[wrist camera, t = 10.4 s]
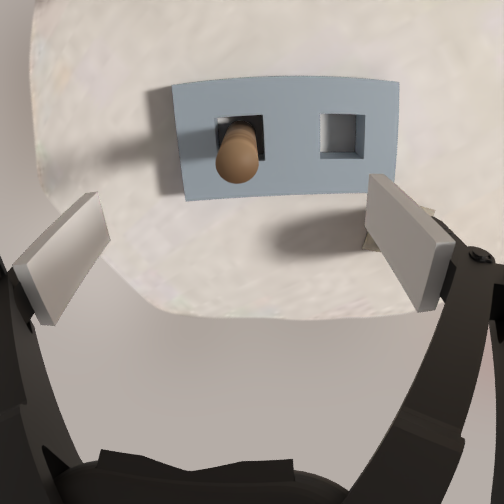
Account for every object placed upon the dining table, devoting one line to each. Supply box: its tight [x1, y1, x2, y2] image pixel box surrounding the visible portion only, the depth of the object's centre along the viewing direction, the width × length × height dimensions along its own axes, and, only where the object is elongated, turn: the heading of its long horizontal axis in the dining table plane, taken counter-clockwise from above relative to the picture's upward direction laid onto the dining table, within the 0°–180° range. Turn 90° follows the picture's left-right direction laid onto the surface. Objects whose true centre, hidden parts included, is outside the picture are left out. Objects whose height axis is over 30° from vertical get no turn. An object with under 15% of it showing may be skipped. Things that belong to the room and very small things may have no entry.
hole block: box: [172, 76, 399, 201], centre depth 31 cm, size 12×22×3 cm, turn 93°
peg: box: [215, 121, 259, 184], centre depth 27 cm, size 3×3×12 cm
